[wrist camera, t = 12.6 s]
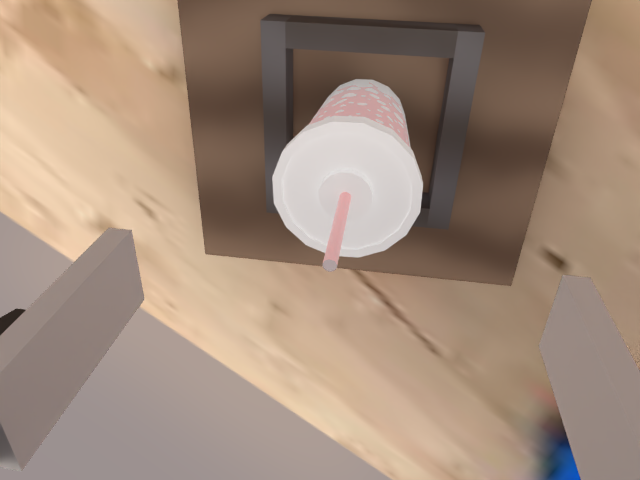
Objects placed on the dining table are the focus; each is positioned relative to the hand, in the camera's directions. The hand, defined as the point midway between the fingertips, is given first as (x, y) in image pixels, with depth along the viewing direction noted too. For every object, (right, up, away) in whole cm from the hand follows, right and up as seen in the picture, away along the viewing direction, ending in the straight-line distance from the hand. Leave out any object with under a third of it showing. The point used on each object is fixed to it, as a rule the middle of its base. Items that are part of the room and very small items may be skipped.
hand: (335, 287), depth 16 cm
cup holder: (+2, +9, +13) cm, 16 cm away
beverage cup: (+2, +8, +12) cm, 15 cm away
